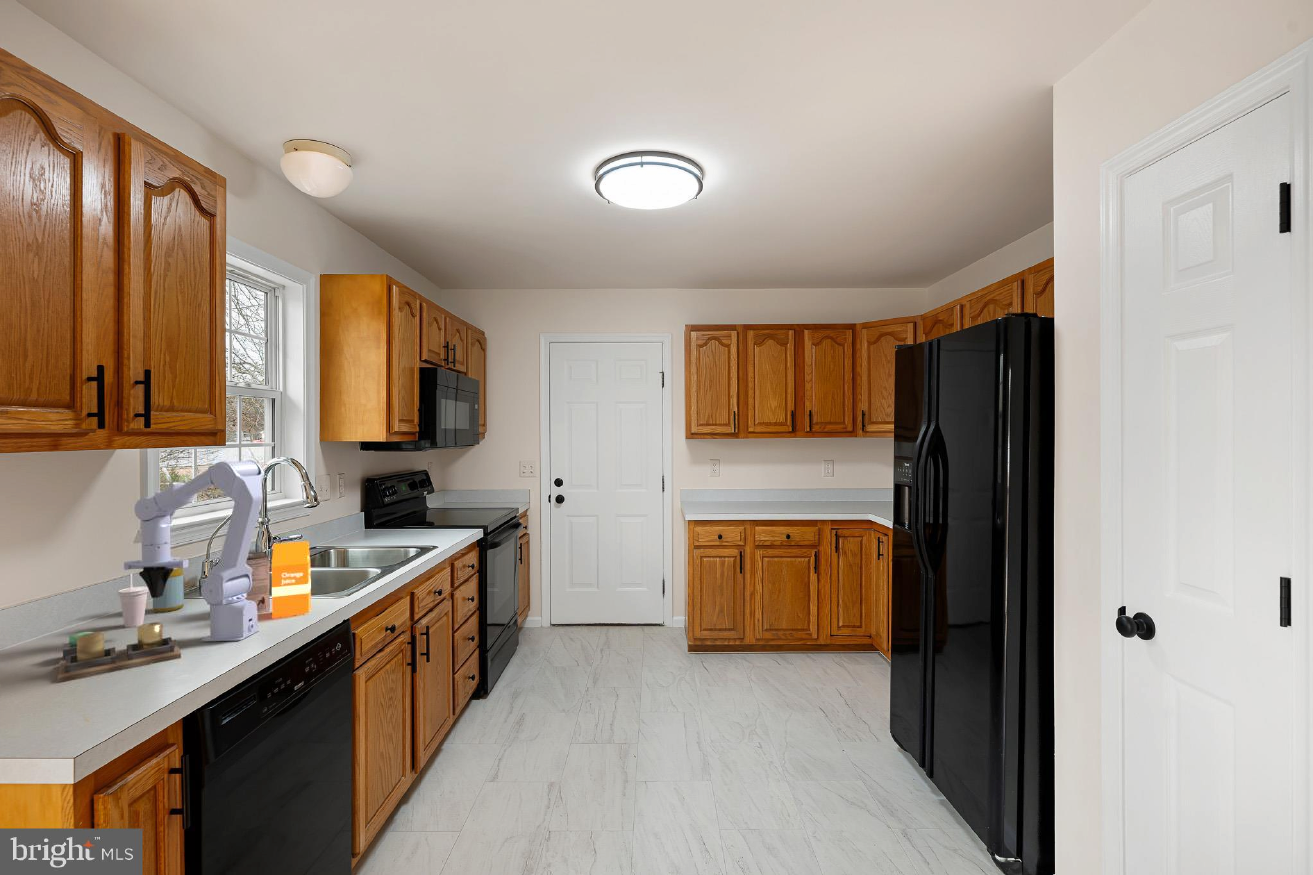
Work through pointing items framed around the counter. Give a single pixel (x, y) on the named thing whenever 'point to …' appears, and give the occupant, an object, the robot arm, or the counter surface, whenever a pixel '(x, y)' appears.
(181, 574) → the bottle
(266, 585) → the coffee box
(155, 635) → the cylinder
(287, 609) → the orange juice
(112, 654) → the wooden fixture board
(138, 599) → the smoothie
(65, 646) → the button box
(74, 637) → the button
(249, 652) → the counter surface
